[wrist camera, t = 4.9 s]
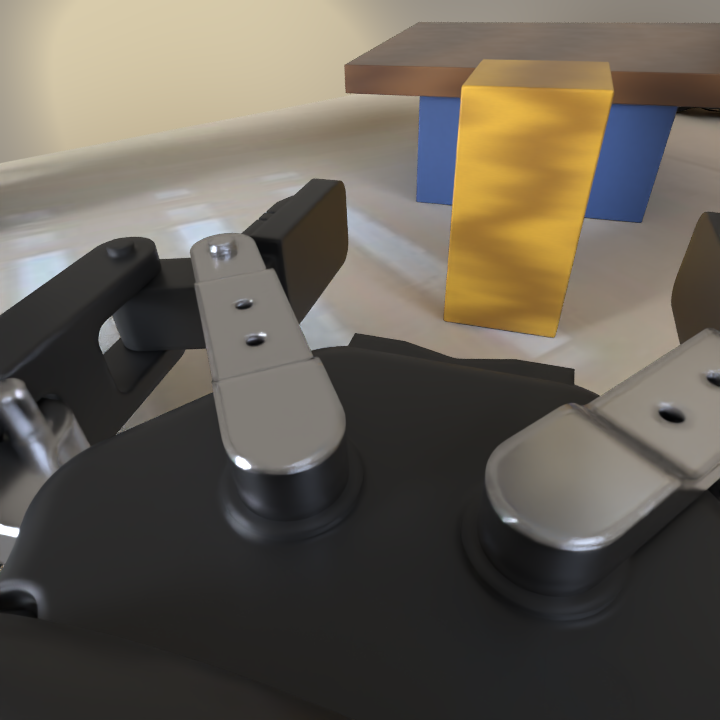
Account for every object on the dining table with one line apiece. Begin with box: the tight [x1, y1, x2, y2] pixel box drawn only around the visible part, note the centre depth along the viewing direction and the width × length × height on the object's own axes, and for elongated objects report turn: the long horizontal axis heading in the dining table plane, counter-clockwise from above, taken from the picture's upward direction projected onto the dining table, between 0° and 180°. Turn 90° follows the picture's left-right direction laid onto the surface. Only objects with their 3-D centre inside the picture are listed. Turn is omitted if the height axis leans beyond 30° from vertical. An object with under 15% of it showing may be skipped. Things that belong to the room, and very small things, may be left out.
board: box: [344, 22, 720, 108], centre depth 34 cm, size 22×18×2 cm
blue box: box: [416, 96, 678, 223], centre depth 37 cm, size 14×14×7 cm
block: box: [444, 59, 614, 337], centre depth 23 cm, size 5×5×10 cm
